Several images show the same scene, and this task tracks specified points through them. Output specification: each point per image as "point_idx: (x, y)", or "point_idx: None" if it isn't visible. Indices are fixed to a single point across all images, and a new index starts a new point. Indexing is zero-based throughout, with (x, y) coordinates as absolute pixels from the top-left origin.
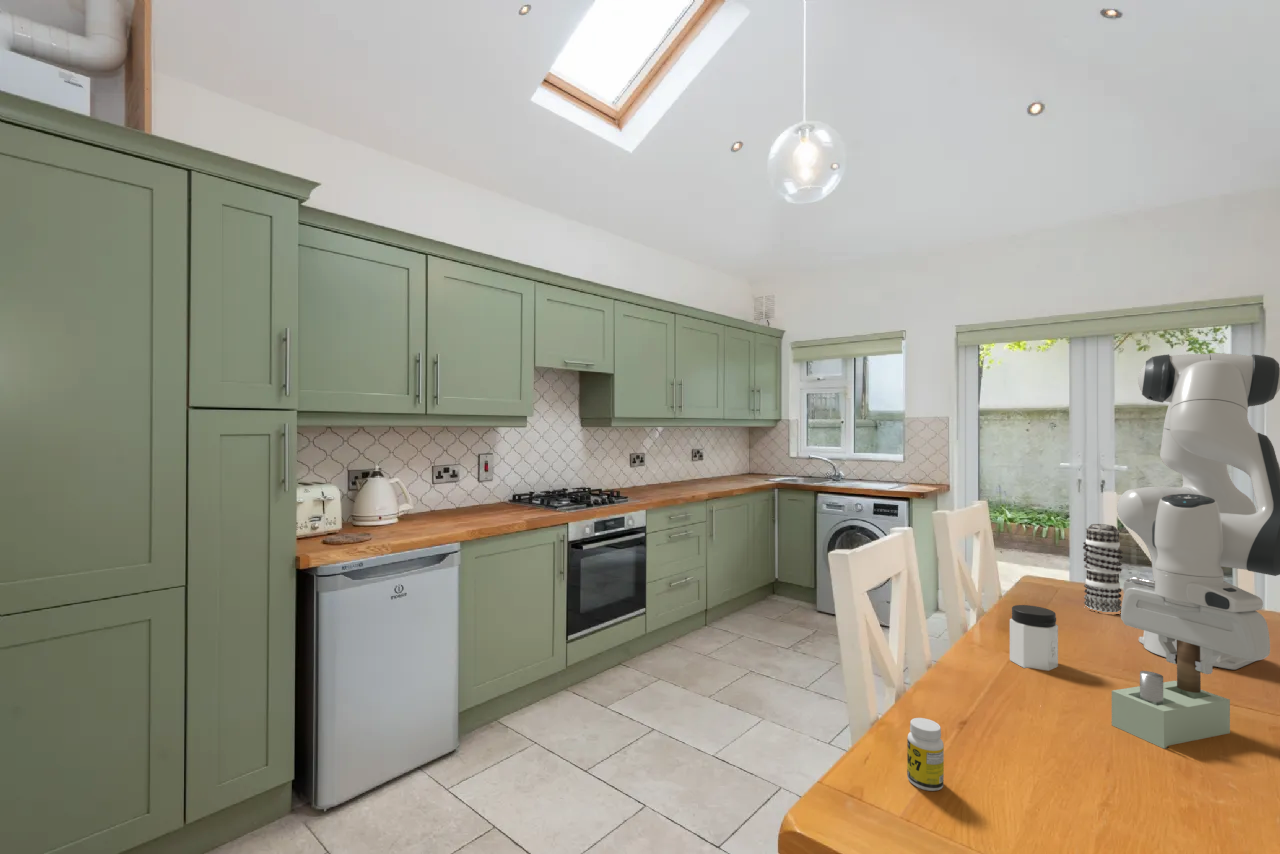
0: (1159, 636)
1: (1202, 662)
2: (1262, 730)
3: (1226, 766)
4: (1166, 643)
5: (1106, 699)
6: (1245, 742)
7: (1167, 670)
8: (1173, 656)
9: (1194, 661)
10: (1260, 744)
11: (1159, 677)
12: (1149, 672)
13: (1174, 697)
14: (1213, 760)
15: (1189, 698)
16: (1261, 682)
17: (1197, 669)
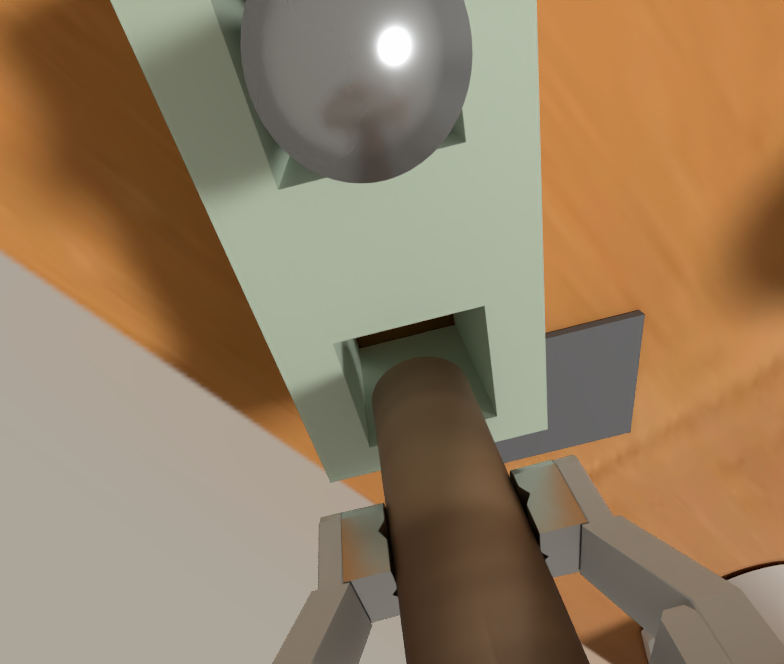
0: (770, 645)
1: (337, 589)
2: (361, 481)
3: (31, 133)
4: (666, 600)
5: (673, 164)
6: (280, 383)
7: (712, 528)
8: (546, 512)
9: (399, 562)
10: (270, 413)
11: (259, 77)
12: (418, 101)
13: (354, 249)
14: (84, 123)
15: (340, 325)
16: (580, 630)
17: (369, 513)
